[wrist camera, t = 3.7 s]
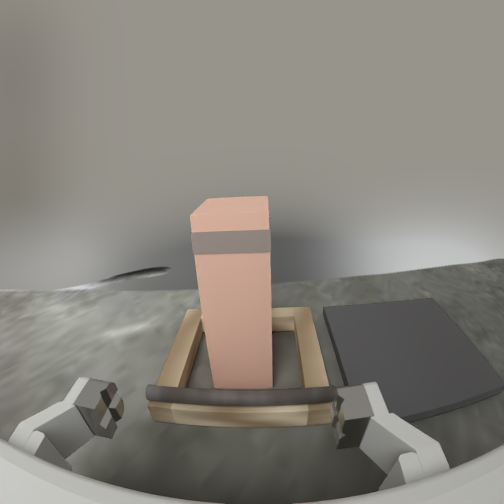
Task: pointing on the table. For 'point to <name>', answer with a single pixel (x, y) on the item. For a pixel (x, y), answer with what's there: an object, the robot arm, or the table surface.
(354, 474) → the table surface
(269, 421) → the frame
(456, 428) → the table surface
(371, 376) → the mat
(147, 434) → the table surface
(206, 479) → the table surface
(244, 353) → the block
